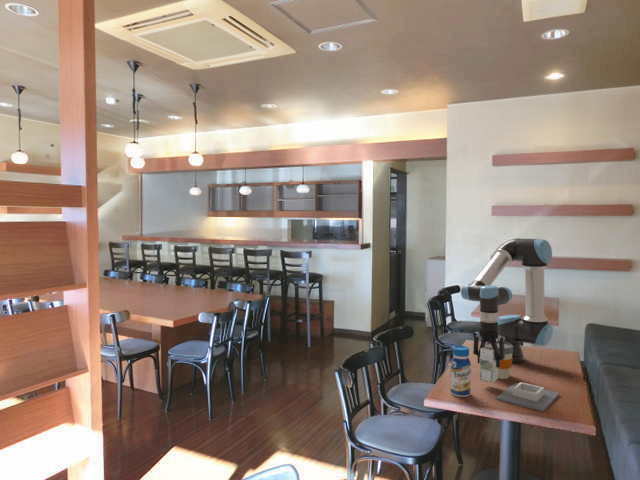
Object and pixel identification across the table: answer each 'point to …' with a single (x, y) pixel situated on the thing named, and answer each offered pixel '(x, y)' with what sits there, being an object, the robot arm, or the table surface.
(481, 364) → the syrup box
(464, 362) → the beverage bottle
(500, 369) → the reusable coffee cup
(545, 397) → the keeper board
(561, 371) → the table surface
